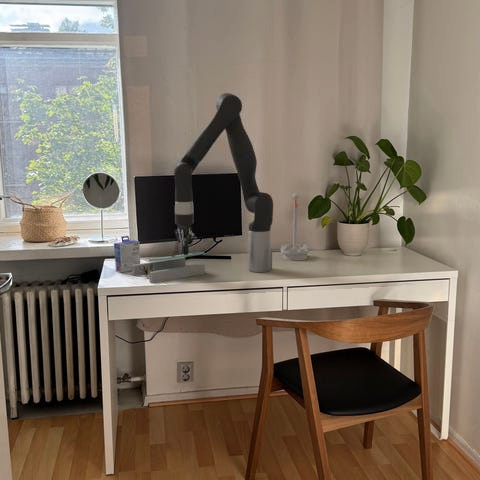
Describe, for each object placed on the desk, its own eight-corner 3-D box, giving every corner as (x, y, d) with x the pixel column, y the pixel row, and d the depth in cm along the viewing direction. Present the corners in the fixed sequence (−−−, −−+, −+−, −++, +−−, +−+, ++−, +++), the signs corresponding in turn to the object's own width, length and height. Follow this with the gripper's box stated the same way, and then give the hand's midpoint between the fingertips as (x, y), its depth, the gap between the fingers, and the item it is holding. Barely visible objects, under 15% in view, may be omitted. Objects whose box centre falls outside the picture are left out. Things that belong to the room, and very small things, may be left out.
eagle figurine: (135, 276, 251) (149, 275, 244) (140, 259, 253) (154, 259, 247) (149, 283, 255) (163, 282, 249) (154, 267, 258) (168, 266, 252)
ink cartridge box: (134, 267, 271) (133, 234, 268) (141, 269, 267) (140, 236, 264) (114, 270, 265) (113, 237, 262) (121, 272, 261) (119, 239, 258)
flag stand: (278, 255, 294) (278, 191, 288) (305, 254, 295) (306, 191, 289) (283, 261, 281) (283, 195, 275) (311, 260, 282) (312, 194, 276)
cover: (183, 256, 271) (183, 253, 271) (204, 253, 258) (204, 250, 258) (149, 261, 261) (149, 258, 261) (169, 259, 248) (168, 256, 248)
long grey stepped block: (183, 266, 272) (183, 257, 272) (204, 273, 259) (204, 263, 258) (132, 274, 258) (131, 265, 257) (151, 282, 244) (151, 272, 244)
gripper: (201, 213, 247) (201, 255, 251) (183, 209, 258) (184, 250, 261) (184, 215, 243) (185, 258, 246) (167, 211, 253) (169, 252, 257)
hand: (185, 254), depth 254 cm, fingers closed
